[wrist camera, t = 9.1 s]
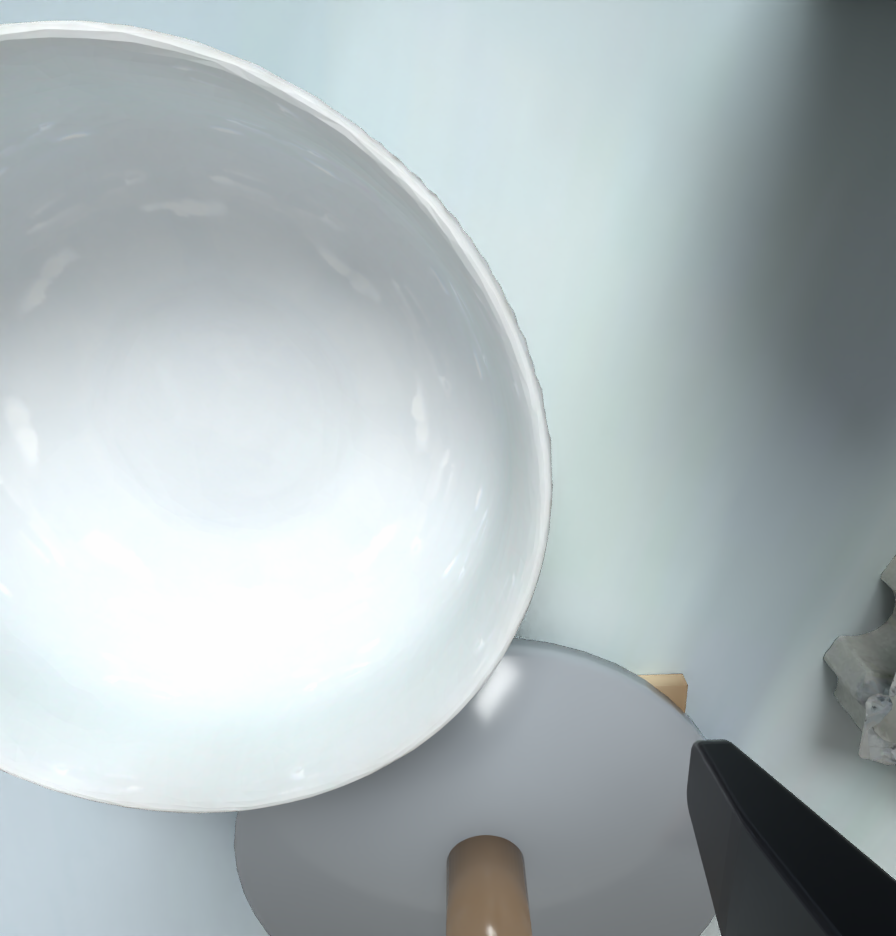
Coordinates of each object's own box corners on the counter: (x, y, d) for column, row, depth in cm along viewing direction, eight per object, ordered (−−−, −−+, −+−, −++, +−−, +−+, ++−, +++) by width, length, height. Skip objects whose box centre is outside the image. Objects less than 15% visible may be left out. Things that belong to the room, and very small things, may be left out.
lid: (757, 628, 23) (836, 742, 18) (704, 992, 29) (751, 1144, 25) (204, 645, 23) (141, 760, 18) (275, 1000, 30) (242, 1152, 25)
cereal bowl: (614, 514, 22) (684, 653, 15) (181, 714, 25) (84, 904, 18) (325, -65, 16) (240, -238, 10) (-186, 282, 19) (-514, 328, 13)
